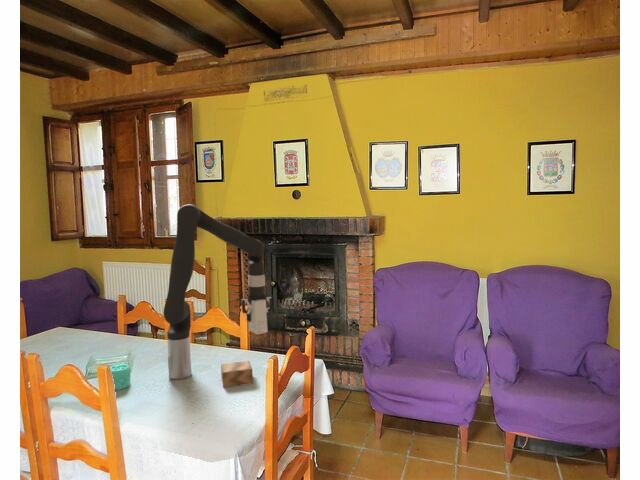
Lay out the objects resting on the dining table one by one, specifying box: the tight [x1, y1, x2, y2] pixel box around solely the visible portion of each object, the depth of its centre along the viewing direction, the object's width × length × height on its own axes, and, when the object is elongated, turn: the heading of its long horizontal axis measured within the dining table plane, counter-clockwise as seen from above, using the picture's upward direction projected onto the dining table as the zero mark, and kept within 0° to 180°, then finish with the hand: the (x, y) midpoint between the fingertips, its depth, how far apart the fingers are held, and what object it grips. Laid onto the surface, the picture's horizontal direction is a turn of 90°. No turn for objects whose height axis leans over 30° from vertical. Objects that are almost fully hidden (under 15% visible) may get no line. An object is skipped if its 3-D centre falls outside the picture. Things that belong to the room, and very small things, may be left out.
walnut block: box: [220, 360, 254, 388], centre depth 177 cm, size 12×10×6 cm
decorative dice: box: [109, 363, 131, 391], centre depth 174 cm, size 8×8×8 cm
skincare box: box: [246, 299, 269, 335], centre depth 188 cm, size 8×6×15 cm
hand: (257, 320), depth 188 cm, fingers closed on skincare box, 6 cm apart
